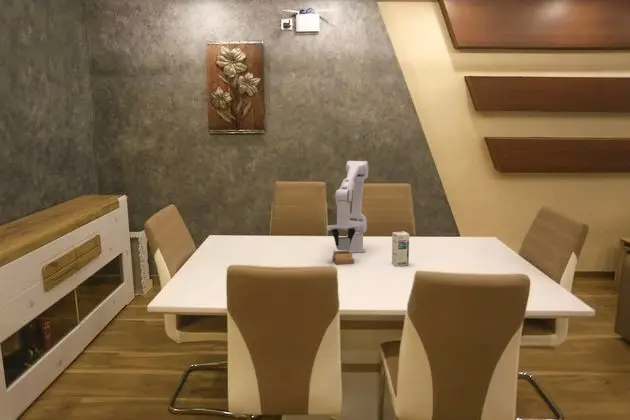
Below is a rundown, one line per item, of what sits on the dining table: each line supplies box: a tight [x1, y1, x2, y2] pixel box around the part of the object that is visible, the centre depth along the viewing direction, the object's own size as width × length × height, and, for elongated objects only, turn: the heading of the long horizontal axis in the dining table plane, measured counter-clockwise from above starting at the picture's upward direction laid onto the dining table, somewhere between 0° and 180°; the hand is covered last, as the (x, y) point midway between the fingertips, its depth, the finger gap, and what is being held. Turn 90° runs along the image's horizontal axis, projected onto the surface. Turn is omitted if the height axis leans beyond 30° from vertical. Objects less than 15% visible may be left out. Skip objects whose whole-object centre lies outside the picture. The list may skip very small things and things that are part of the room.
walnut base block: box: [331, 255, 355, 266], centre depth 245 cm, size 8×8×2 cm
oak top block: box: [332, 250, 353, 260], centre depth 245 cm, size 7×7×2 cm
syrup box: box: [391, 231, 410, 267], centre depth 241 cm, size 6×6×14 cm
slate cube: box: [335, 236, 350, 251], centre depth 244 cm, size 5×5×5 cm
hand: (342, 245), depth 244 cm, fingers closed on slate cube, 5 cm apart
